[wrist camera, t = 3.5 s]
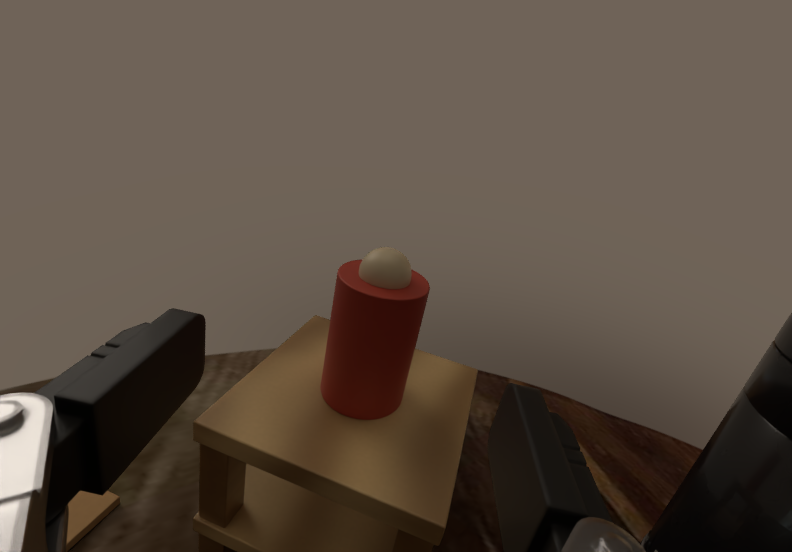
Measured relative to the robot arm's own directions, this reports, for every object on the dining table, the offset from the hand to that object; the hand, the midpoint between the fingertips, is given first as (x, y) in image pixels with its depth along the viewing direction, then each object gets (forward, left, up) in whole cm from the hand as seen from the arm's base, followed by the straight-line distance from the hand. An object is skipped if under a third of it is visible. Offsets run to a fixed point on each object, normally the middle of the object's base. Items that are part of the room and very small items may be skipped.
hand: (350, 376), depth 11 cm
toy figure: (+2, -10, -8) cm, 13 cm away
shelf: (+2, -10, -18) cm, 21 cm away
